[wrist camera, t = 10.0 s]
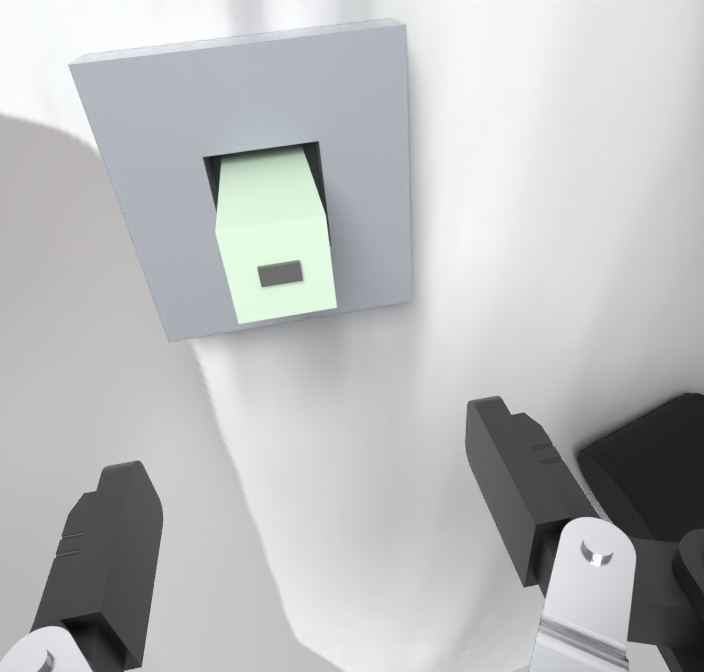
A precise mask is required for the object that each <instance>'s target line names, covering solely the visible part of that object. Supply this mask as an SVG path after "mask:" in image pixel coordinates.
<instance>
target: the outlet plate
mask: <svg viewBox="0 0 704 672" xmlns="http://www.w3.org/2000/svg"><path fill="white" fill-rule="evenodd" d="M68 66H69V68H70V71H71V74H72V77H73V79H74V82H75V85H76V88H77V90H78V93H79V96H80V99H81V102H82V104H83V107H84V110H85V113H86V115H87V118H88V121H89V124H90V126H91V129H92V132H93V135H94V137H95V140H96V143H97V146H98V149H99V151H100V154H101V157H102V160H103V162H104V165H105V168H106V171H107V173H108V176H109V178H110V182H111V184H112V187H113V190H114V193H115V195H116V198H117V201H118V204H119V206H120V209H121V212H122V215H123V217H124V220H125V223H126V226H127V229H128V231H129V234H130V237H131V240H132V242H133V245H134V248H135V251H136V253H137V256H138V259H139V262H140V265H141V267H142V270H143V273H144V276H145V278H146V281H147V284H148V286H149V289H150V292H151V295H152V297H153V300H154V303H155V306H156V309H157V312H158V314H159V317H160V320H161V322H162V325H163V328H164V331H165V333H166V336H167V339H168V342H173V341H179V340H185V339H191V338H197V337H203V336H209V335H215V334H221V333H227V332H233V331H239V330H245V329H250V328H256V327H262V326H268V325H274V324H280V323H286V322H292V321H298V320H304V319H310V318H316V317H322V316H328V315H333V314H339V313H345V312H351V311H357V310H363V309H369V308H375V307H381V306H387V305H393V304H399V303H405V302H411V301H412V270H411V224H410V177H409V130H408V84H407V37H406V24H404V23H401V22H398V21H396V20H393V19H390V18H389V19H381V20H372V21H364V22H355V23H347V24H338V25H330V26H321V27H313V28H304V29H296V30H288V31H279V32H271V33H262V34H254V35H245V36H237V37H228V38H220V39H211V40H203V41H194V42H186V43H178V44H169V45H161V46H152V47H144V48H135V49H127V50H118V51H110V52H101V53H93V54H85V55H84V56H82V57H80V58H79V59H77V60H75V61H74V62H72V63H70V64H69V65H68ZM294 144H301V145H302V148H303V151H304V154H305V157H306V159H307V162H308V165H309V168H310V171H311V174H312V177H313V180H314V183H315V185H316V188H317V191H318V194H319V197H320V200H321V203H322V206H323V209H324V212H325V214H326V221H327V229H328V237H329V246H330V254H331V262H332V271H333V279H334V287H335V296H336V304H337V308H332V309H326V310H320V311H314V312H308V313H302V314H296V315H290V316H284V317H278V318H272V319H266V320H260V321H254V322H248V323H242V324H239V323H238V319H237V315H236V311H235V307H234V304H233V300H232V296H231V292H230V288H229V284H228V280H227V276H226V272H225V268H224V265H223V261H222V257H221V253H220V249H219V245H218V241H217V237H216V233H215V229H216V217H217V206H218V194H219V183H220V171H221V160H222V154H229V153H236V152H243V151H251V150H258V149H265V148H272V147H280V146H287V145H294Z"/></svg>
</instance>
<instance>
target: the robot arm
mask: <svg viewBox="0 0 704 672" xmlns="http://www.w3.org/2000/svg"><path fill="white" fill-rule="evenodd" d="M465 445H466V453H467V457H468V461H469V464H470V467H471V469H472V471H473V474H474V476H475V478H476V480H477V483H478V485H479V487H480V490H481V492H482V494H483V496H484V499H485V501H486V503H487V505H488V508H489V510H490V512H491V514H492V517H493V519H494V521H495V523H496V526H497V528H498V530H499V532H500V535H501V537H502V539H503V542H504V544H505V546H506V548H507V551H508V553H509V555H510V557H511V560H512V562H513V564H514V566H515V569H516V571H517V573H518V575H519V578H520V580H521V582H522V584H523V587H528V586H533V585H538V584H539V587H540V589H541V591H542V593H543V595H544V597H545V603H544V607H543V611H542V615H541V619H540V623H539V628H538V632H537V636H536V640H535V644H534V648H533V653H532V657H531V661H530V665H529V669H528V672H629V661H628V659H626V644H627V641H630V642H637V643H644V644H651V645H656V646H657V647H658V649H659V651H660V653H661V655H662V657H663V658H664V660H665V662H666V664H667V666H668V668H669V670H670V672H704V529H697V530H693V531H691V532H688V533H687V534H686V535H685V536H684V537H683V538H682V540H681V542H680V543H673V542H663V541H654V540H645V539H638V538H634V537H631V536H628V535H626V534H625V533H623V532H622V531H621V530H620V529H619V528H617V527H616V526H615V525H613V524H611V523H609V522H607V521H605V520H602V519H601V518H600V516H599V515H598V514H597V513H596V511H595V510H594V508H593V507H592V505H591V503H590V502H589V500H588V499H587V497H586V496H585V494H584V492H583V491H582V489H581V488H580V486H579V484H578V483H577V481H576V480H575V478H574V477H573V475H572V473H571V472H570V470H569V469H568V467H567V466H566V464H565V462H564V461H562V460H561V456H560V455H559V453H558V451H557V450H556V448H555V447H553V445H552V442H551V440H550V439H549V437H548V436H547V434H546V432H545V431H544V429H543V428H542V426H541V425H539V424H538V423H537V422H536V421H534V420H533V419H532V418H530V417H529V416H528V415H526V414H525V413H519V414H514V415H511V414H510V412H509V410H508V408H507V407H506V405H505V403H504V402H503V400H502V399H501V397H499V396H493V397H488V398H483V399H477V400H472V401H469V402H468V404H467V419H466V439H465ZM162 527H163V511H162V505H161V502H160V499H159V497H158V495H157V493H156V491H155V489H154V487H153V484H152V482H151V480H150V478H149V476H148V474H147V472H146V470H145V468H144V466H143V464H142V463H141V462H140V461H133V462H127V463H122V464H116V465H111V466H106V467H105V468H104V469H103V471H102V473H101V477H100V480H99V484H98V487H97V491H95V492H89V493H84V494H83V496H82V497H81V498H80V499H79V501H78V502H77V504H76V505H75V506H74V508H73V509H72V510H71V512H70V513H69V515H68V518H67V521H66V524H65V527H64V530H63V533H62V540H60V543H59V546H58V549H57V552H56V558H55V559H54V561H53V565H52V568H51V570H50V574H49V577H48V580H47V583H46V586H45V589H44V592H43V595H42V598H41V602H40V605H39V608H38V611H37V614H36V617H35V620H34V623H33V626H32V628H31V631H30V633H29V634H28V635H27V636H25V637H23V638H22V639H21V640H19V641H18V642H17V643H16V644H15V645H14V646H13V647H12V648H11V649H10V650H9V651H8V653H7V654H6V655H5V656H4V658H3V659H2V661H1V663H0V672H123V671H125V670H129V669H134V668H139V667H142V661H143V655H144V648H145V641H146V634H147V627H148V621H149V614H150V608H151V601H152V594H153V587H154V581H155V574H156V566H157V560H158V554H159V547H160V540H161V534H162Z"/></svg>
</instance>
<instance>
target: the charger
mask: <svg viewBox="0 0 704 672" xmlns="http://www.w3.org/2000/svg"><path fill="white" fill-rule="evenodd" d="M215 233H216V237H217V241H218V245H219V249H220V253H221V257H222V261H223V265H224V268H225V272H226V276H227V280H228V284H229V288H230V292H231V296H232V300H233V304H234V307H235V311H236V315H237V319H238V323H239V324H242V323H248V322H254V321H260V320H266V319H272V318H278V317H284V316H290V315H296V314H302V313H308V312H314V311H320V310H326V309H332V308H337V304H336V296H335V287H334V279H333V271H332V262H331V254H330V246H329V237H328V229H327V221H326V214H325V212H324V209H323V206H322V203H321V200H320V197H319V194H318V191H317V188H316V185H315V183H314V180H313V177H312V174H311V171H310V168H309V165H308V162H307V159H306V157H305V154H304V151H303V148H302V145H301V144H294V145H287V146H280V147H272V148H265V149H258V150H251V151H243V152H236V153H229V154H222V160H221V171H220V183H219V194H218V206H217V217H216V229H215Z"/></svg>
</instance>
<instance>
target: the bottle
mask: <svg viewBox="0 0 704 672" xmlns="http://www.w3.org/2000/svg"><path fill="white" fill-rule="evenodd" d="M578 462H579V465H580V468H581V471H582V473H583V475H584V478H585V480H586V482H587V484H588V485H589V487H590V489H591V491H592V492H593V494H594V496H595V497H596V499H597V501H598V502H599V504H600V505H601V507H602V508H603V510H604V511H605V513H606V514H607V515H608V517H609V518H610V520H611V521H612V522H613V524H614V525H615V526H616V527H617V528H619V529H620V530H621V531H622V532H623V533H625V534H626V535H628V536H631V537H634V538H638V539H645V540H654V541H663V542H673V543H680V542H681V540H682V538H683V537H684V536H685V535H686V534H687V533H688V532H691V531H693V530H697V529H704V395H701V394H699V393H687V394H684V395H682V396H680V397H679V398H677V399H675V400H673V401H671V402H670V403H668V404H666V405H664V406H662V407H661V408H659V409H657V410H655V411H653V412H652V413H650V414H648V415H646V416H644V417H643V418H641V419H639V420H637V421H635V422H634V423H632V424H630V425H628V426H626V427H625V428H623V429H621V430H619V431H617V432H616V433H614V434H612V435H610V436H608V437H607V438H605V439H603V440H601V441H599V442H598V443H596V444H594V445H592V446H590V447H589V448H587V449H585V450H583V451H581V452H580V453H579V455H578Z"/></svg>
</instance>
